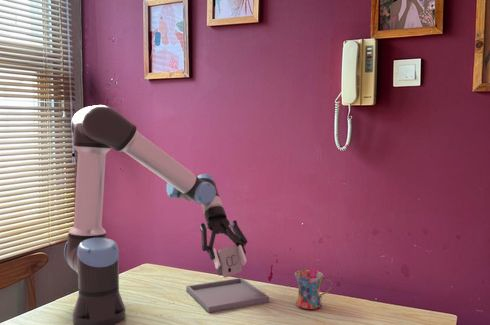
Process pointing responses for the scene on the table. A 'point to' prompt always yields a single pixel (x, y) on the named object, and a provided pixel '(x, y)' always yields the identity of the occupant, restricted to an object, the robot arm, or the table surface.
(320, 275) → the mug
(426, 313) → the table surface
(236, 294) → the grey square tray
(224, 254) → the electrical switch
